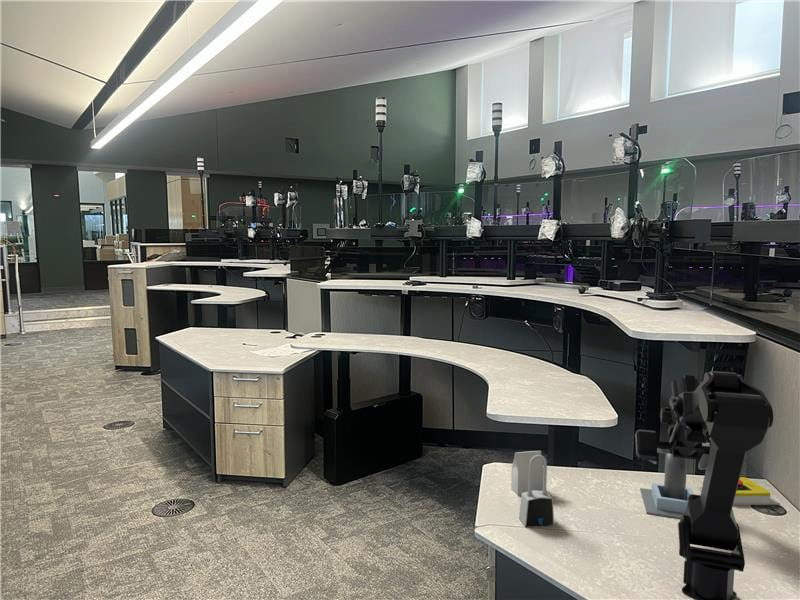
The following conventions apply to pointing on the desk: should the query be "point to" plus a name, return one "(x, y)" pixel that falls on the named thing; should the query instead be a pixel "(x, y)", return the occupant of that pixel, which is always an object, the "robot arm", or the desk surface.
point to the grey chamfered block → (526, 472)
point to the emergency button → (751, 494)
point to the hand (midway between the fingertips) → (676, 464)
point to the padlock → (536, 502)
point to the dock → (664, 502)
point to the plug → (675, 477)
